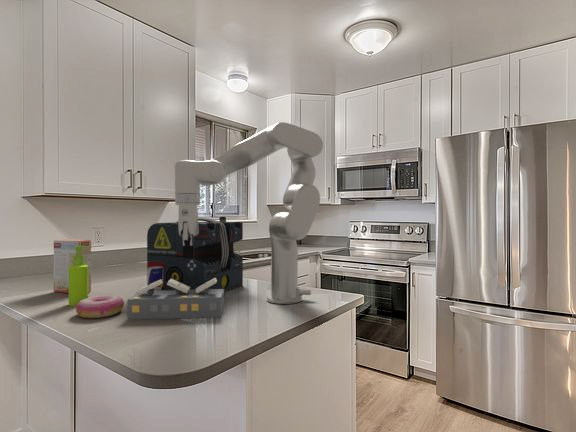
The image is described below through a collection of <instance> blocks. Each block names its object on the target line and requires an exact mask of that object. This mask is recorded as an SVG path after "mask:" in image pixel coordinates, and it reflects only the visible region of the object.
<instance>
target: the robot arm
mask: <svg viewBox="0 0 576 432" xmlns="http://www.w3.org/2000/svg"><path fill="white" fill-rule="evenodd" d="M285 148H286V150H287V155H288V157H289V159H290V162H291V164H292V173H291V176H290V179H289V182H288V184H287V187H286V189H285V191H284V194H283V197H282V204H283V206H284V208H286V209H287V210H288V211H283V212H282V211H281V212H277V213H275V214H274V215H273V216H272V217H271V218H270V220H269V224H268V225H269V226H268V232H269V239H270V247H271V248H270V250H271V251H270V256H271V257H270V258H271V259H270V260H271V261H270V263H271V265H270V266H271V267H270V269H271V272H270V273H271V274H270V275H271V276H270V281H271V282H270V284H271V285H270V287H271V290H270V292H271V293H270V295H267V297H266V301H267V302H269V303H272V304H277V305H279V304H280V305H291V304H298V303H300V302H302V300H303V296H305V295H306V296H311V294H312V291H311V289H306V288H303V289H302V288H300V287H299V286H298V284H299V283H298V282H299V281H298V280H299V279H298V277H299V276H298V275H299V273H298V271H299V270H298V269H299V268H298V266H299V265H298V263H299V262H298V260H299V259H298V256H299V253H298V252H299V251H298V244H297V241H299V240H300V241H301V240H302V239H304V238H306V237H307V236H308V233H309V232H310V230H311V229H312V225H313V223H314V221H315V218H316V215H317V212H318V210H319V207H320V204H321V203H320V202H321V195H320V190H319V189H318V187H317V186H315V185H314V182H315V178H316V167H315V164H314V161H313V159H312V158H315V157H317V156H319V155H320V154H321V153H322V152H323V148H324V142H323V139H322V137H321V136H320V135H319V134H318V133H316V132H314V131H312V130H309V129H306V128H303V127H300V126H298V125H295V124H292V123H289V122H280V121H279V122H276V123H275V124H273V125H271V126H269V127H267V128H265V129H263V130H261V131H259V132H258V133H256V134H253V135H252V136H250V137H248V138H247V139H244V140H243V141H240V142H238V143H237V144H235V145H234V146H232V147H230V149H228V150H227V151H225V152H223V153H220V154H219V155H217V156H215V157H214V158H212V159H210V160H203V161H202V160H199V161H196V160H190V159H182V160H181V159H180V160H177V161H176V162H175V165H174V191H175V192H174V193H175V194H174V195H175V197H174V199H175V200H174V201H175V202H174V203H175V204H174V205H175V206H178V219H177V221H178V223H179V235H180V236H183V259H193V258H194V236H196V235H198V234H199V222H200V221H198V218H199V210H198V209H199V208H198V205H201V186H205V187H208V186H209V187H210V186H212V185H217V184H220V183H221V182H223V181H224V179H225V178H226V177H228V176H230V175H231V174H233V173H235V172H237V171H240V170H244V169H246V168H249V167H250V166H253V165H255V164H256V163H258V162H260V161H262V160H264V159H265V158H267V157H269V156H271V155H272V154H274V153H276V152H277V151H279V150H281V149H285Z"/></svg>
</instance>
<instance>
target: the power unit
mask: <svg viewBox="0 0 576 432" xmlns="http://www.w3.org/2000/svg"><path fill="white" fill-rule="evenodd" d="M198 222H199V234H198V235H196V236H194V258H193V259H183V236H180V235H179V223H178V220H177V221H176V222H173V221H172V222H156V223H152V224H151V225H150V226H149V228H148V229H147V234H146V254H147V255H146V271H147V270H148V267H155V266H160V267H163V290H177V289H176V288H173V287H171V286H169V285H167V283H168V281H169V280H170V279H173V280H175V281H178V282H181V283H182V284H184V285H187V286H189V287H190V289H189V290H196V288H197V287H199V286H201V285H202V284H204V283H205V282H208V281H210V280H212V279H213V278H216V279H217V282H216V283H215V284H213V285H212V286H210V287H209V289H224V293H225V292H228V291H231V290H233V289H236V288H239V286H240V287H242V286H244V281H243V278H244V277H243V276H244V275H243V271H244V270H243V269H244V267H243V266H244V265H243V264H244V263H243V262H244V259H243V258H244V257H243V255H241V254H239V253H236V252H235V251H234V244H235V243H237V242H240V241H243V239H244V238H243V236H244V232H243V231H244V228H243V225H244V223H243V222H242V221H227V217H226V216H220V217H219V220H216V219H213V218H203V217H202V218H199V217H198Z"/></svg>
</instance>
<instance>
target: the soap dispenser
mask: <svg viewBox="0 0 576 432" xmlns="http://www.w3.org/2000/svg"><path fill="white" fill-rule="evenodd" d="M73 248H74V249H76V255H74V256H73V265H72V266H69V293H68V306H70V307H76V306H77V304H78V303H79V302H80V301H81V300H84V299H87V298H89V292H88V265H84V255H81V248H91V249H92V246H91V247H90V246H75V247H73Z"/></svg>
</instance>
